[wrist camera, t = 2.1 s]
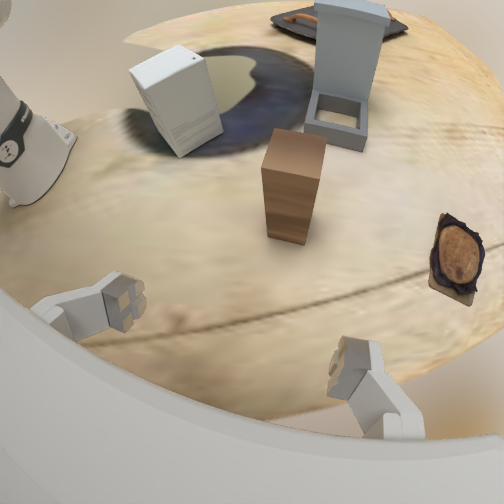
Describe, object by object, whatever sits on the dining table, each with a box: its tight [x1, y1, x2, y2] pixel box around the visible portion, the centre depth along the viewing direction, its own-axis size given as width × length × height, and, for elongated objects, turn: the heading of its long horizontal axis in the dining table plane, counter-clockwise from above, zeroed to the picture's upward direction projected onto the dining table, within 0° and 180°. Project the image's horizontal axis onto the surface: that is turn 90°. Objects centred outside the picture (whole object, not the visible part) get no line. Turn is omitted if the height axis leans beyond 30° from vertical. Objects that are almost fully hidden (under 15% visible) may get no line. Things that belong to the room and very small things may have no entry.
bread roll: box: [428, 213, 485, 306], centre depth 25 cm, size 11×8×4 cm
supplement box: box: [129, 45, 223, 158], centre depth 30 cm, size 7×7×13 cm
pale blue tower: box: [304, 0, 391, 152], centre depth 27 cm, size 14×9×17 cm, turn 164°
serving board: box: [270, 6, 408, 39], centre depth 45 cm, size 39×23×6 cm, turn 132°
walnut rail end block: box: [261, 128, 327, 246], centre depth 24 cm, size 4×4×12 cm
